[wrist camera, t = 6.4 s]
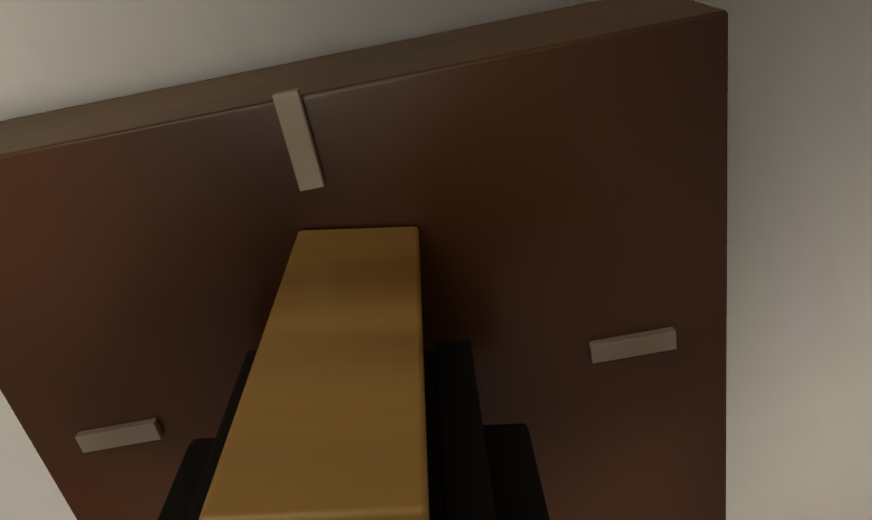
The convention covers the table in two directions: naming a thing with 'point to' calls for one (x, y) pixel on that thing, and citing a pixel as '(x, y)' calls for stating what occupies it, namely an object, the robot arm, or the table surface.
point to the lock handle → (334, 389)
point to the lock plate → (393, 207)
